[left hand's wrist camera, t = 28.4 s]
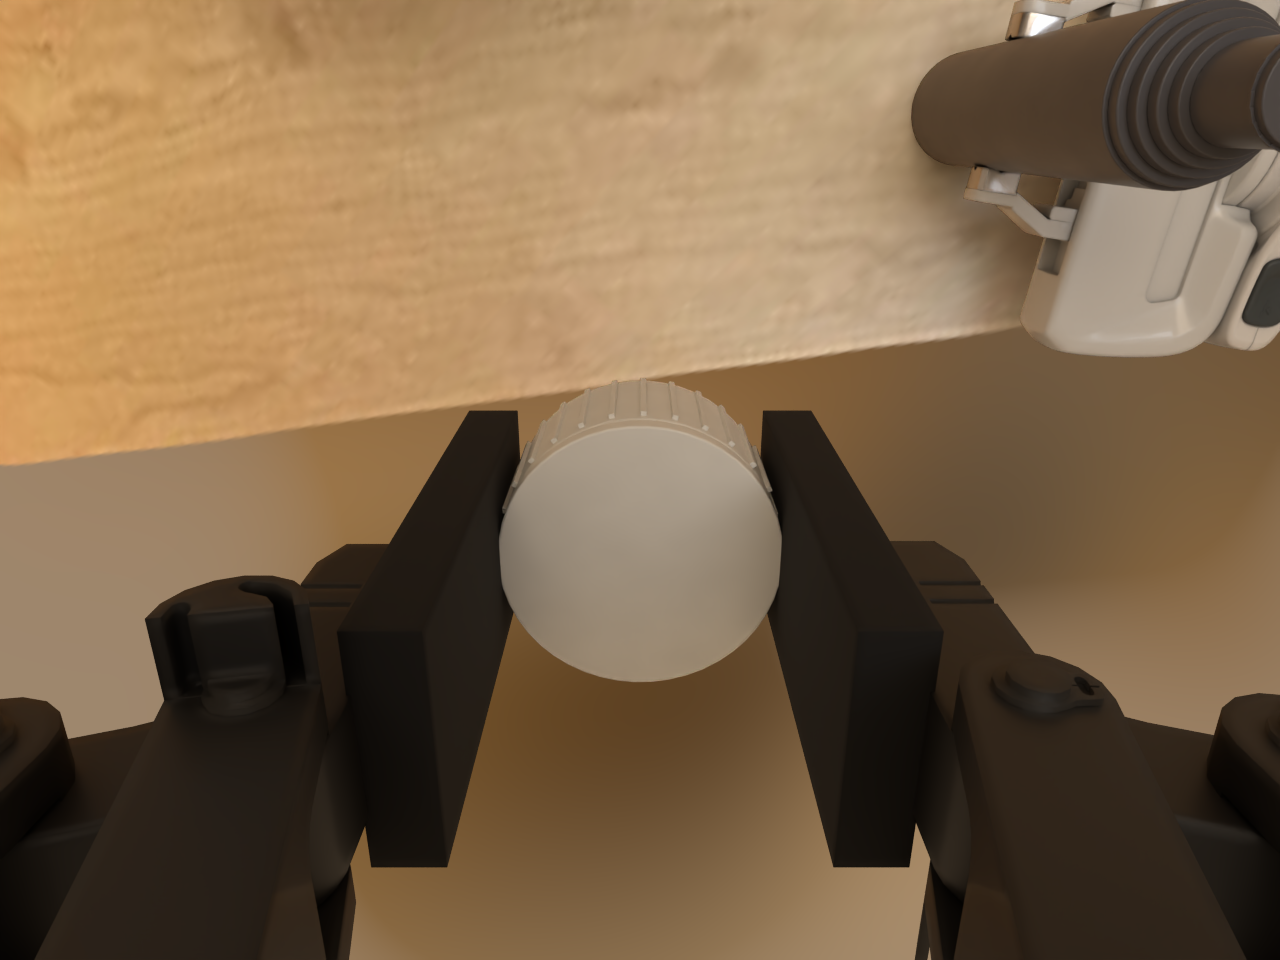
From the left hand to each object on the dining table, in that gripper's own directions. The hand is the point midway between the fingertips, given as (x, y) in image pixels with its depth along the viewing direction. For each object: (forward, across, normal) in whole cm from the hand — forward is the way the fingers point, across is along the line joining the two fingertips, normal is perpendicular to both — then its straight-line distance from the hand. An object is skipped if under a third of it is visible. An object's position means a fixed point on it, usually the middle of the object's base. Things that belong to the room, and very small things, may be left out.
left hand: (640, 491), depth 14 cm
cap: (-2, 0, 0) cm, 2 cm away
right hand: (+29, +16, +6) cm, 34 cm away
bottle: (+35, +16, +6) cm, 39 cm away
